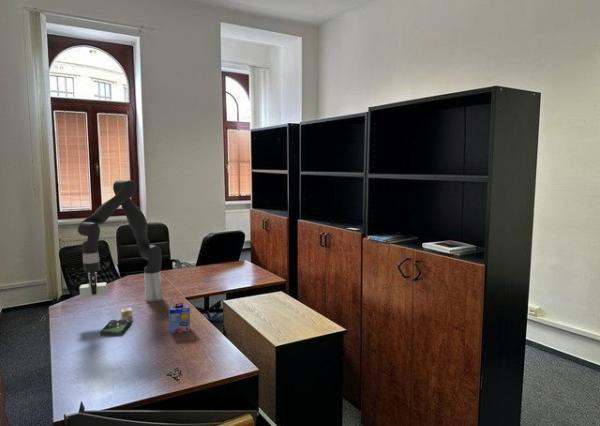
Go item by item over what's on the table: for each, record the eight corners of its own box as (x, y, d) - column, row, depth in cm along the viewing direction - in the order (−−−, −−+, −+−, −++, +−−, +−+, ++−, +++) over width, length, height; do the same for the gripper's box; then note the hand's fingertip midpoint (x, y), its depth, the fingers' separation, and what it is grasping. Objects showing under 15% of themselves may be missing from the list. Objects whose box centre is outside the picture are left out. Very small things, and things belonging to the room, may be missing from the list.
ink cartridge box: (170, 334, 206) (169, 305, 204) (168, 330, 211) (167, 301, 209) (190, 331, 210) (189, 302, 208) (189, 326, 215) (188, 299, 213)
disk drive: (110, 325, 218) (100, 336, 203) (110, 319, 218) (99, 331, 203) (131, 324, 219) (122, 336, 204) (131, 319, 219) (122, 330, 204)
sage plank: (107, 291, 224) (106, 282, 223) (106, 294, 218) (105, 285, 217) (81, 294, 219) (81, 284, 219) (80, 297, 214) (79, 288, 213)
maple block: (131, 316, 229) (130, 307, 228) (132, 319, 224) (132, 310, 224) (121, 318, 226) (120, 309, 225) (122, 321, 222) (121, 312, 221)
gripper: (100, 263, 212) (102, 295, 214) (98, 257, 224) (100, 287, 227) (83, 265, 208) (86, 297, 210) (82, 258, 221) (84, 289, 223)
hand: (93, 292), depth 218 cm, fingers closed on sage plank, 6 cm apart
